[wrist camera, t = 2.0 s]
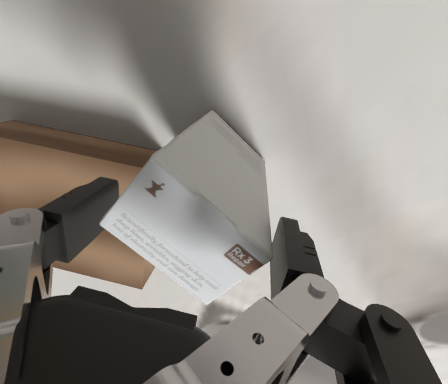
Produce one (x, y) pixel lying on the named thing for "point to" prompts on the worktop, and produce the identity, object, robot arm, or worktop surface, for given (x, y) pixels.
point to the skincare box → (198, 210)
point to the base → (67, 180)
